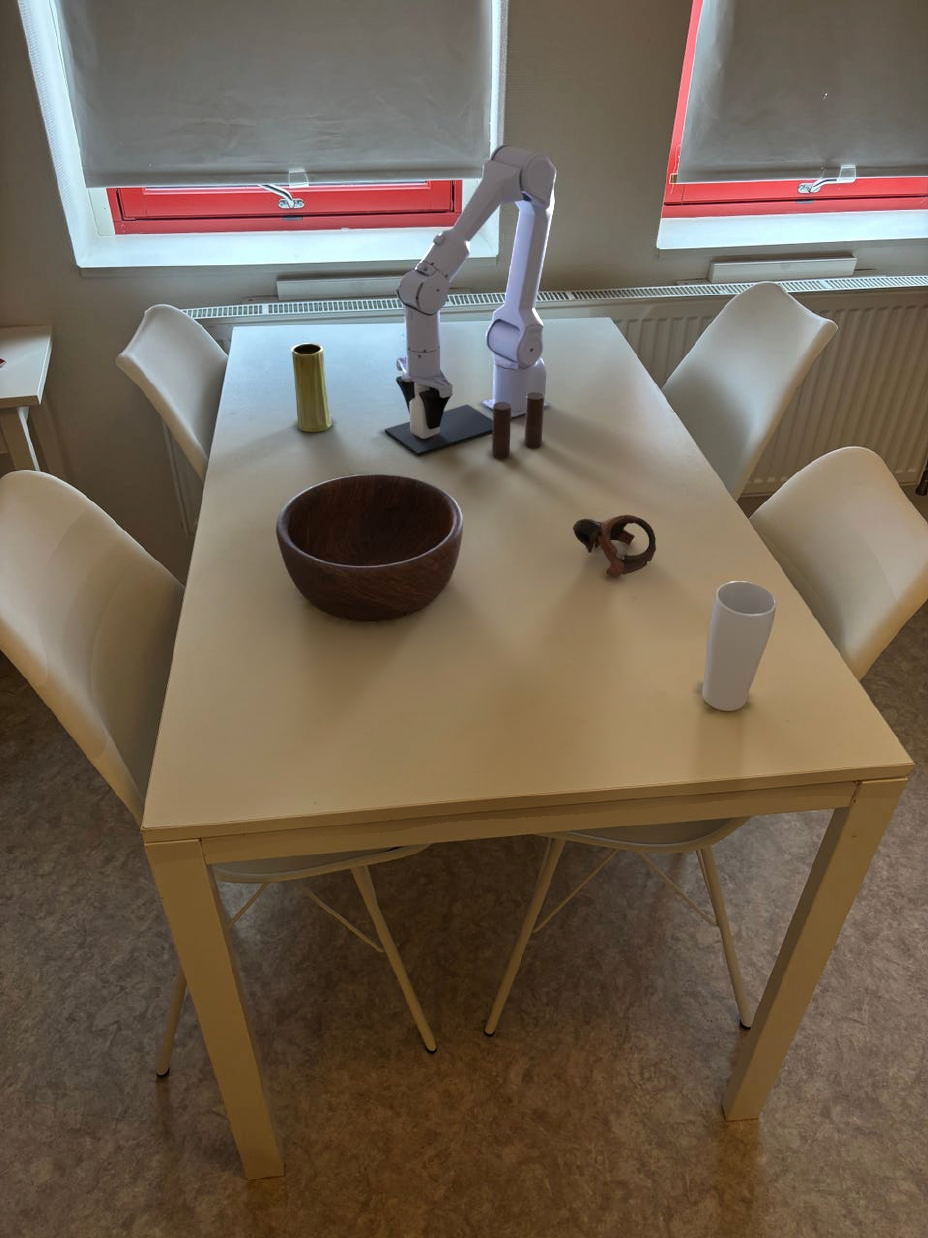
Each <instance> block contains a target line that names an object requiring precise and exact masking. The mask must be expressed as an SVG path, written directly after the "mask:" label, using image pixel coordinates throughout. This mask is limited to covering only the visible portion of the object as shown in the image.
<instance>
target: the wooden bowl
mask: <svg viewBox="0 0 928 1238" xmlns="http://www.w3.org/2000/svg"><path fill="white" fill-rule="evenodd" d="M463 533H464V515H463V513H462V510H461V508H460V506H459V504H458V503H457V501H456V500H455V498H454V497H452V495H450V494H449V493H448V492H446V491H445V490H443V489H442V488H440V487H437V486H436V485H434V484H432V483H429V482H426V481H424V480H421V479H417V478H414V477H410V476H404V475H397V474H390V473H389V474H388V473H364V474H363V473H362V474H353V475H347V476H346V475H345V476H341V477H337V478H333V479H330V480H326V481H323V482H320V483H318V484H315V485H313V486H311V487H308V488H307V489H305V490H303V491H302V492H300V493H298V494H296V495H295V496H294V497H292V499H290V500H289V501H288V502H287V503H286V504H285V505H284V506H283V508H282V509H281V511H280V512H279V514H278V517H277V519H276V525H275V534H276V539H277V543H278V547H279V550H280V553H281V557H282V560H283V563H284V565H285V568H286V571H287V573H288V575H289V577H290V579H291V580H292V582H293V584H294V585H295V588H296V589H297V590H298V591H299V593H300V594H301V595H302V596H303V597H304V598H305V599H306V600H307V601H308V602H309V603H310V604H311V605H313V606H314V607H315V608H317V609H319V610H321V611H322V612H324V613H327V614H329V615H332V616H335V617H338V618H341V619H345V620H350V621H357V622H380V621H388V620H395V619H398V618H402V617H405V616H408V615H411V614H413V613H415V612H417V611H419V610H421V609H423V608H425V607H426V606H428V605H430V604H431V603H432V602H433V601H435V600H436V599H437V597H438V596H439V595H440V594H441V593H442V592H443V590H445V588H446V587H447V584H448V583H449V581H450V580H451V578H452V576H453V573H454V570H455V568H456V566H457V564H458V559H459V555H460V550H461V545H462V539H463Z"/></svg>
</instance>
